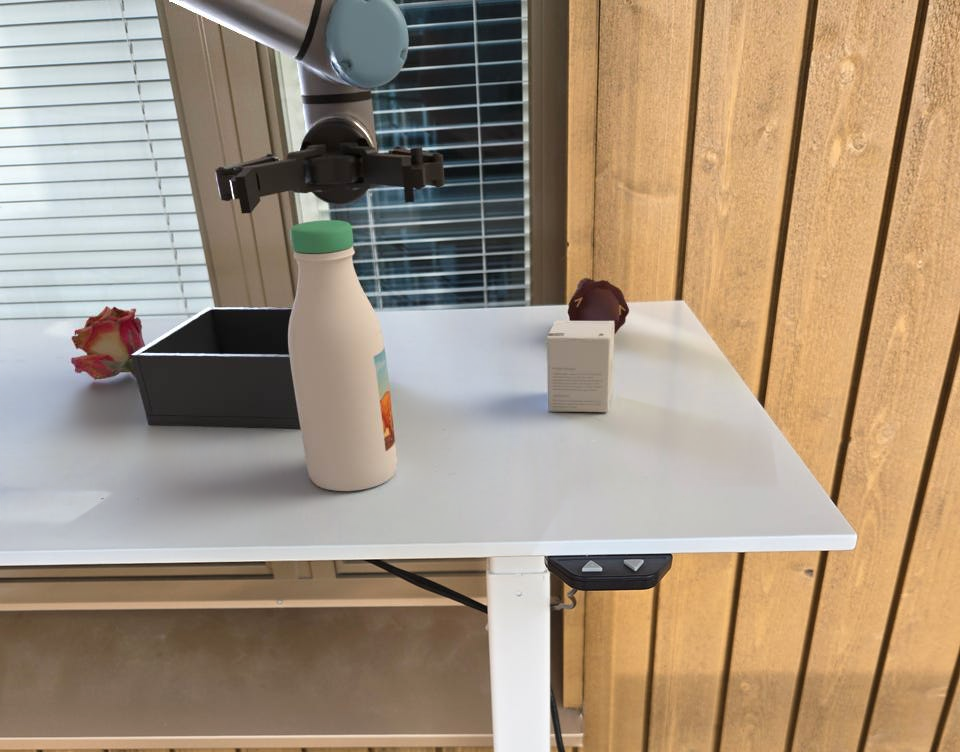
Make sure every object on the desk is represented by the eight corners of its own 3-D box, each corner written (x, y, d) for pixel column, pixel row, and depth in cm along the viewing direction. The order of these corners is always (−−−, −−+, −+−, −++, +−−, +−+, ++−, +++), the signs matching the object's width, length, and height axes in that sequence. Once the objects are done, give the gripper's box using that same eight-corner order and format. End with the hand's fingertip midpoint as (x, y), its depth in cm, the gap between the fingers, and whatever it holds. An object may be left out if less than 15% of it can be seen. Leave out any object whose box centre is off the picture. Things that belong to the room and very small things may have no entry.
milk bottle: (375, 498, 73) (344, 235, 61) (292, 488, 75) (247, 233, 64) (411, 461, 79) (388, 215, 67) (333, 453, 81) (298, 214, 70)
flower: (184, 352, 103) (139, 293, 102) (143, 360, 95) (93, 295, 93) (129, 400, 107) (85, 343, 105) (85, 411, 99) (36, 350, 97)
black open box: (148, 424, 89) (129, 355, 85) (220, 369, 103) (207, 307, 99) (313, 429, 86) (302, 357, 82) (364, 371, 100) (357, 307, 96)
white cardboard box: (613, 393, 91) (616, 319, 87) (608, 414, 86) (611, 337, 82) (554, 391, 92) (554, 318, 88) (546, 412, 87) (545, 336, 83)
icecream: (655, 294, 98) (614, 277, 111) (592, 282, 96) (558, 266, 109) (638, 358, 101) (600, 334, 114) (577, 347, 99) (545, 325, 112)
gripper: (462, 191, 93) (478, 228, 76) (223, 208, 92) (184, 249, 75) (457, 109, 89) (473, 127, 71) (207, 125, 88) (161, 147, 70)
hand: (325, 189), depth 73 cm, fingers open, 13 cm apart
